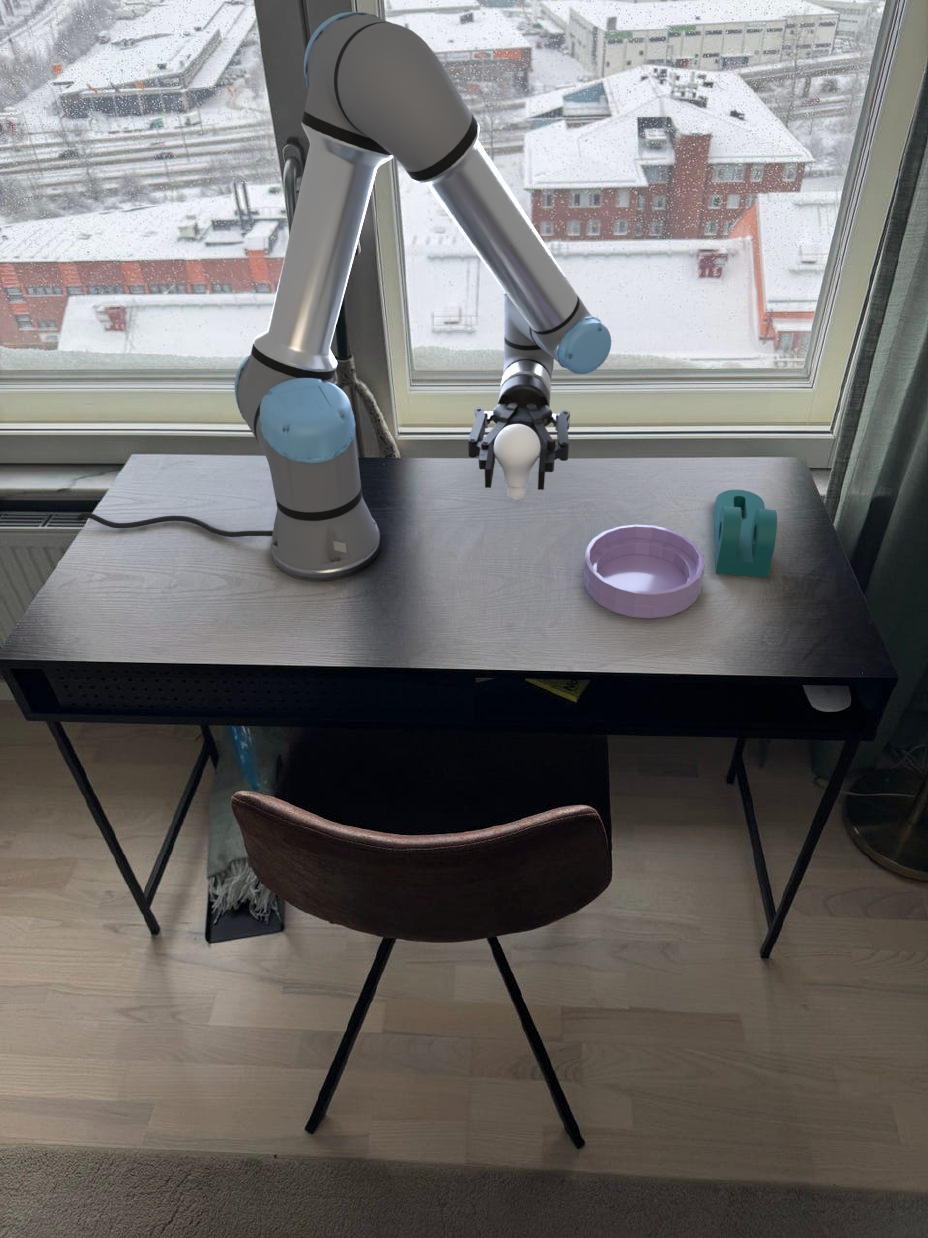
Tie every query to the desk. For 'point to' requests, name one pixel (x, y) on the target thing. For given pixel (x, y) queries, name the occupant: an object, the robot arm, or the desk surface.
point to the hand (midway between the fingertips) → (514, 479)
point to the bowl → (643, 571)
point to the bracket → (743, 534)
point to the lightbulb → (516, 457)
